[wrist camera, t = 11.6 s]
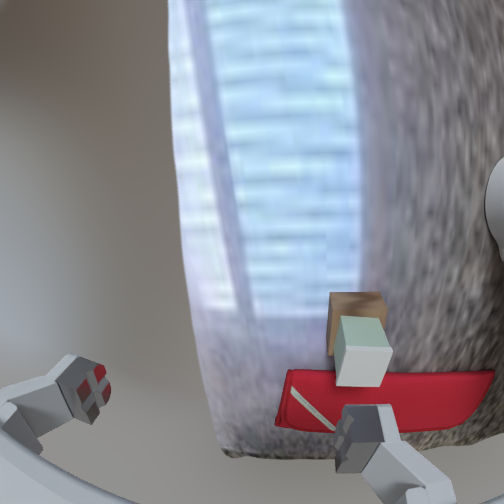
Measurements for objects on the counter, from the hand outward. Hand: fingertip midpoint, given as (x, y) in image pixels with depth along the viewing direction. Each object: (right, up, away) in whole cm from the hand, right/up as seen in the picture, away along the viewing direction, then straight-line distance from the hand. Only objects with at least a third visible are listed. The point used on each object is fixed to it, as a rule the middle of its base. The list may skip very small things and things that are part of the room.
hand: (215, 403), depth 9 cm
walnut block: (+15, -4, +31) cm, 35 cm away
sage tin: (+14, -5, +27) cm, 31 cm away
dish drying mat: (+26, -22, +36) cm, 50 cm away
